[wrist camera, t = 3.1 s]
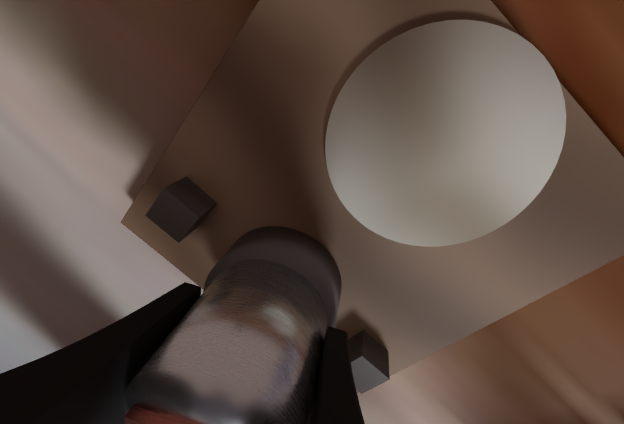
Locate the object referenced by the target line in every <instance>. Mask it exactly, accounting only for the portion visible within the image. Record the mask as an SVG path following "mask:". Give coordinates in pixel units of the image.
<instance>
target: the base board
mask: <svg viewBox="0 0 624 424" xmlns="http://www.w3.org/2000/svg"><path fill="white" fill-rule="evenodd" d="M121 223H122V224H123V225H125V226H126V227H127V228H128V229H129V230H131V231H132V232H133V233H134V234H136V235H137V236H138V237H139V238H141V239H142V240H143V241H144V242H146V243H147V244H148V245H149V246H150V247H152V248H153V249H154V250H155V251H157V252H158V253H159V254H160V255H162V256H163V257H164V258H165V259H167V260H168V261H169V262H170V263H171V264H173V265H174V266H175V267H176V268H178V269H179V270H180V271H181V272H183V273H184V274H185V275H186V276H188V277H189V278H190V279H191V280H192V281H194V282H195V283H196V284H197V285H199V286H200V287H201V288H202V289H204V291H205V290H206V289H207V288H208V286H209V285H210V284H211V283H212V281H213V280H214V279H215V278H216V276H217V275H218V274H219V273H220V272H221V271H222V270H223V269H224V268H226V267H227V266H229V265H231V264H233V263H236V262H239V261H243V260H249V259H260V260H268V261H273V262H276V263H279V264H282V265H285V266H287V267H289V268H291V269H293V270H295V271H296V272H298V273H299V274H301V275H302V276H304V277H305V278H306V279H307V280H308V281H309V282H310V283H311V284H312V285H313V286H314V287H315V288H316V289H317V291H318V292H319V294H320V295H321V297H322V299H323V301H324V304H325V307H326V310H327V328H328V326H330V327H334V328H337V329H340V330H343V331H346V333H347V334H348V345H349V354H350V361H351V367H352V373H353V378H354V383H355V387H356V392H357V393H358V392H360V393H361V394H362V393H364V392H366V391H368V390H370V389H372V388H374V387H376V386H378V385H379V384H381V383H383V382H385V381H387V380H389V379H390V378H389V376H391V375H393V374H395V373H396V372H398V371H400V370H402V369H404V368H406V367H408V366H410V365H412V364H414V363H416V362H418V361H420V360H422V359H424V358H425V357H427V356H429V355H431V354H433V353H435V352H437V351H439V350H441V349H443V348H445V347H447V346H449V345H451V344H452V343H454V342H456V341H458V340H460V339H462V338H464V337H466V336H468V335H470V334H472V333H474V332H476V331H478V330H480V329H481V328H483V327H485V326H487V325H489V324H491V323H493V322H495V321H497V320H499V319H501V318H503V317H505V316H507V315H509V314H510V313H512V312H514V311H516V310H518V309H520V308H522V307H524V306H526V305H528V304H530V303H532V302H534V301H536V300H537V299H539V298H541V297H543V296H545V295H547V294H549V293H551V292H553V291H555V290H557V289H559V288H561V287H563V286H565V285H566V284H568V283H570V282H572V281H574V280H576V279H578V278H580V277H582V276H584V275H586V274H588V273H590V272H592V271H594V270H595V269H597V268H599V267H601V266H603V265H605V264H607V263H609V262H611V261H613V260H615V259H617V258H619V257H621V256H622V255H624V157H623V156H622V155H621V154H620V153H619V151H618V150H617V149H616V148H615V147H614V146H613V144H612V143H611V142H610V141H609V140H608V138H607V137H606V136H605V135H604V134H603V133H602V131H601V130H600V129H599V128H598V127H597V125H596V124H595V123H594V122H593V121H592V119H591V118H590V117H589V116H588V115H587V114H586V112H585V111H584V110H583V109H582V108H581V106H580V105H579V104H578V103H577V102H576V101H575V99H574V98H573V97H572V96H571V95H570V93H569V92H568V91H567V90H566V89H565V88H564V86H563V85H562V84H561V83H560V82H559V80H558V78H557V76H556V74H555V72H554V70H553V68H552V67H551V65H550V64H549V63H548V61H547V60H546V58H545V57H544V56H543V55H542V54H541V53H540V52H539V51H538V50H537V49H536V48H535V47H534V46H533V45H532V44H531V43H530V42H528V41H527V40H525V39H524V38H523V37H521V35H520V34H519V33H518V32H517V31H516V30H515V28H514V27H513V26H512V25H511V24H510V22H509V21H508V20H507V19H506V18H505V17H504V15H503V14H502V13H501V12H500V11H499V9H498V8H497V7H496V6H495V5H494V4H493V2H492V1H491V0H259V1H258V3H257V5H256V6H255V8H254V9H253V11H252V13H251V14H250V16H249V17H248V19H247V21H246V22H245V24H244V25H243V27H242V29H241V30H240V32H239V33H238V35H237V37H236V38H235V40H234V41H233V43H232V45H231V46H230V48H229V49H228V51H227V53H226V54H225V56H224V57H223V59H222V61H221V62H220V64H219V65H218V67H217V69H216V70H215V72H214V73H213V75H212V77H211V78H210V80H209V81H208V83H207V85H206V86H205V88H204V89H203V91H202V93H201V94H200V96H199V97H198V99H197V101H196V102H195V104H194V105H193V107H192V109H191V110H190V112H189V113H188V115H187V117H186V118H185V120H184V121H183V123H182V125H181V126H180V128H179V129H178V131H177V133H176V134H175V136H174V137H173V139H172V141H171V142H170V144H169V145H168V147H167V149H166V150H165V152H164V154H163V155H162V157H161V158H160V160H159V162H158V163H157V165H156V166H155V168H154V170H153V171H152V173H151V174H150V176H149V178H148V179H147V181H146V182H145V184H144V186H143V187H142V189H141V190H140V192H139V194H138V195H137V197H136V198H135V200H134V202H133V203H132V205H131V206H130V208H129V210H128V211H127V213H126V214H125V216H124V218H123V219H122V221H121ZM204 291H203V293H204ZM327 328H326V331H327ZM325 335H326V333H325ZM324 338H325V337H324Z"/></svg>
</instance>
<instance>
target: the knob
mask: <svg viewBox="0 0 624 424" xmlns="http://www.w3.org/2000/svg"><path fill="white" fill-rule="evenodd" d="M326 328H327V310H326V307H325V304H324V301H323V299H322V297H321V295H320V294H319V292H318V291H317V289H316V288H315V287H314V286H313V285H312V284H311V283H310V282H309V281H308V280H307V279H306V278H305V277H304V276H302V275H301V274H299V273H298V272H296V271H295V270H293V269H291V268H289V267H287V266H285V265H282V264H279V263H276V262H273V261H268V260H260V259H249V260H243V261H239V262H236V263H233V264H231V265H229V266H227V267H226V268H224V269H223V270H222V271H221V272H220V273H219V274H218V275H217V276H216V278H215V279H214V280H213V281H212V283H211V284H210V285H209V286H208V288H207V289H206V290H205V291H204V293H203V294H202V295H201V296H200V297H199V299H198V300H197V301H196V302H195V304H194V305H193V306H192V307H191V309H190V310H189V311H188V312H187V313H186V315H185V316H184V317H183V318H182V320H181V321H180V322H179V323H178V325H177V326H176V327H175V328H174V330H173V331H172V332H171V333H170V334H169V336H168V337H167V338H166V339H165V341H164V342H163V343H162V344H161V346H160V347H159V348H158V349H157V351H156V352H155V353H154V354H153V355H152V357H151V358H150V359H149V360H148V362H147V363H146V364H145V365H144V367H143V368H142V369H141V370H140V372H139V373H138V374H137V375H136V376H135V378H134V379H133V380H132V381H131V383H130V384H129V385H128V387H127V388H126V391H125V393H124V398H123V406H124V411H125V417H124V419H125V424H307V421H308V416H309V412H310V407H311V402H312V397H313V392H314V387H315V382H316V377H317V371H318V366H319V361H320V356H321V351H322V346H323V341H324V337H325V333H326Z"/></svg>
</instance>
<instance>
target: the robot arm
mask: <svg viewBox="0 0 624 424" xmlns="http://www.w3.org/2000/svg"><path fill="white" fill-rule="evenodd" d="M200 296H201V287H199V286H196V285H192V284H189V283H186V282H185V283H183V284H181V285H180V286H178V287H176V288H174V289H173V290H171V291H169V292H168V293H166V294H164V295H162V296H161V297H159V298H157V299H156V300H154V301H152V302H150V303H149V304H147V305H145V306H144V307H142V308H140V309H138V310H136V311H135V312H133V313H131V314H129V315H128V316H126V317H124V318H122V319H120V320H119V321H117V322H115V323H113V324H111V325H109V326H107V327H105V328H103V329H101V330H99V331H97V332H95V333H94V334H92V335H90V336H88V337H86V338H84V339H82V340H79V341H77V342H75V343H73V344H71V345H69V346H67V347H65V348H62V349H60V350H58V351H56V352H53V353H51V354H49V355H46V356H44V357H42V358H39V359H37V360H35V361H32V362H30V363H27V364H24V365H22V366H19V367H17V368H14V369H12V370H9V371H6V372H4V373H1V374H0V424H125V419H124V417H125V411H124V406H123V398H124V393H125V391H126V388H127V387H128V385H129V384H130V383H131V381H132V380H133V379H134V378H135V376H136V375H137V374H138V373H139V372H140V370H141V369H142V368H143V367H144V365H145V364H146V363H147V362H148V360H149V359H150V358H151V357H152V355H153V354H154V353H155V352H156V351H157V349H158V348H159V347H160V346H161V344H162V343H163V342H164V341H165V339H166V338H167V337H168V336H169V334H170V333H171V332H172V331H173V330H174V328H175V327H176V326H177V325H178V323H179V322H180V321H181V320H182V318H183V317H184V316H185V315H186V313H187V312H188V311H189V310H190V309H191V307H192V306H193V305H194V304H195V302H196V301H197V300H198V299H199V297H200ZM307 424H365V423H364V420H363V416H362V412H361V409H360V405H359V400H358V396H357V392H356V387H355V383H354V378H353V373H352V367H351V361H350V354H349V345H348V334H347V333H346V331H343V330H340V329H337V328H334V327H330V326H328V328H327V331H326V335H325V338H324V341H323V346H322V351H321V356H320V361H319V366H318V371H317V377H316V382H315V387H314V392H313V397H312V402H311V407H310V412H309V416H308V421H307Z"/></svg>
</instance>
